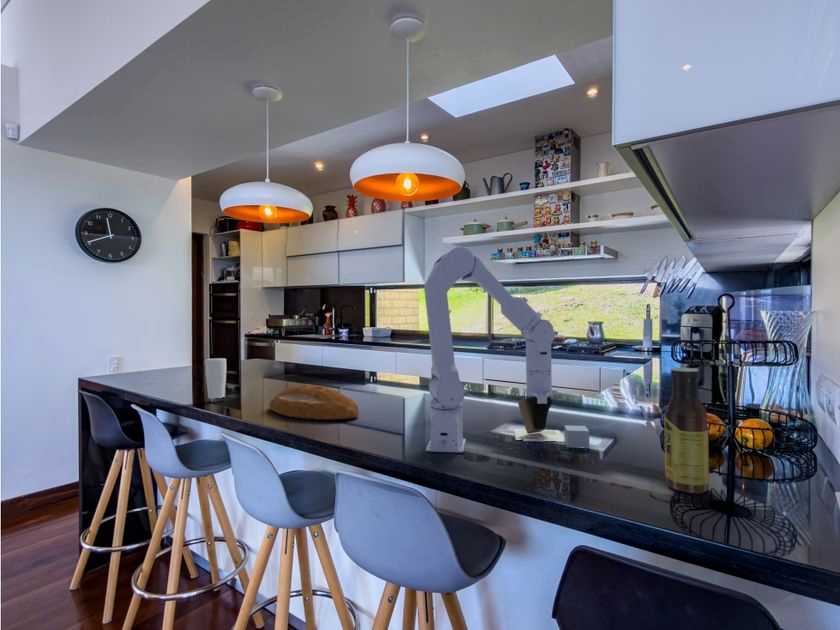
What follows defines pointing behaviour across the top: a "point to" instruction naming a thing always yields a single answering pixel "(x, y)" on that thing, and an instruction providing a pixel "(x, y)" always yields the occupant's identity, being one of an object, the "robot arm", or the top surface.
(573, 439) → the slate cube
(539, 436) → the letter
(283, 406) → the bread
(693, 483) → the sauce bottle
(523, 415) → the wooden block
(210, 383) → the drinking glass
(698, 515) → the top surface
